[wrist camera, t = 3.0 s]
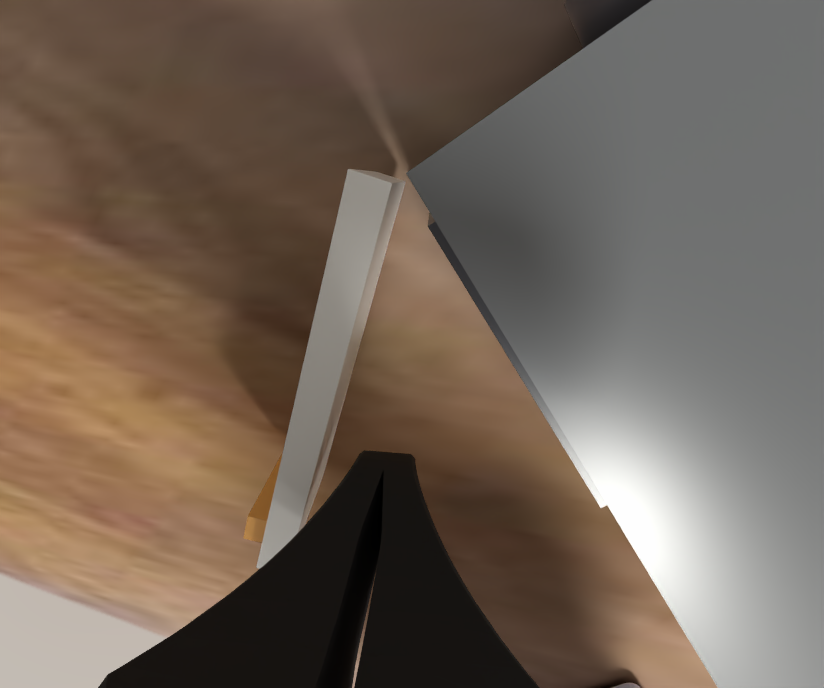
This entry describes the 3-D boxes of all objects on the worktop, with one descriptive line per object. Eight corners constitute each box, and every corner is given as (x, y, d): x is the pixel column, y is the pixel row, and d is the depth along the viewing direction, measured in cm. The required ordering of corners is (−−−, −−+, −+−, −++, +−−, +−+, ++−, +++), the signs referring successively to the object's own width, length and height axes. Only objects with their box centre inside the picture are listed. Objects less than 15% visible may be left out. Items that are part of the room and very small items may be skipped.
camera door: (323, 475, 15) (286, 575, 11) (284, 464, 15) (233, 561, 11) (405, 181, 11) (392, 183, 7) (354, 164, 11) (314, 157, 7)
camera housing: (958, 485, 14) (1178, 614, 10) (661, 593, 17) (737, 733, 12) (794, -152, 9) (1119, -446, 5) (389, 145, 11) (362, 125, 7)
